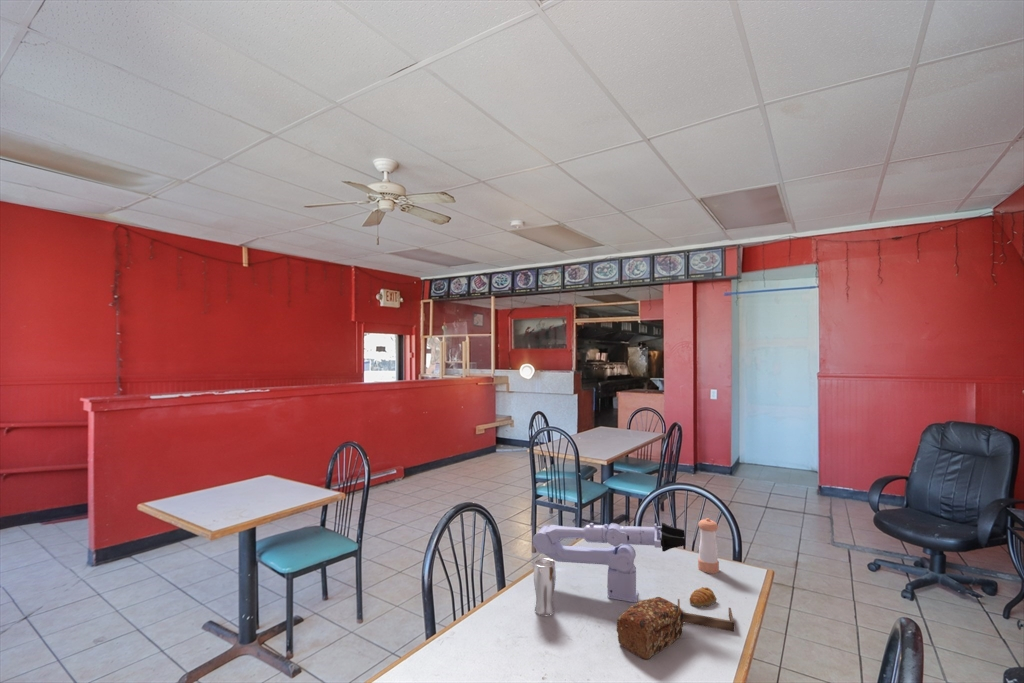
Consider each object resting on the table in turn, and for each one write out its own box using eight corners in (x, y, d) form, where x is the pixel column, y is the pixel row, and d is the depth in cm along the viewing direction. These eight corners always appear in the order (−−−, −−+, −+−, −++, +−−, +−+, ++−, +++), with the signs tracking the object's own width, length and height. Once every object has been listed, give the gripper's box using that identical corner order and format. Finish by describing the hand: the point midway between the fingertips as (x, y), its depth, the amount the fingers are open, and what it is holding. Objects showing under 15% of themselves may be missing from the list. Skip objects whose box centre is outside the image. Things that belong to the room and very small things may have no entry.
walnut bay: (677, 621, 141) (677, 612, 141) (677, 606, 150) (677, 598, 150) (734, 631, 136) (734, 622, 136) (730, 616, 144) (730, 607, 145)
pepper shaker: (715, 565, 181) (714, 515, 182) (721, 574, 173) (721, 522, 174) (695, 564, 181) (695, 514, 182) (701, 573, 174) (701, 521, 175)
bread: (647, 663, 121) (647, 624, 122) (614, 644, 130) (614, 607, 130) (685, 637, 133) (685, 601, 134) (653, 621, 141) (653, 587, 142)
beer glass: (558, 608, 148) (558, 560, 149) (551, 619, 142) (551, 568, 142) (538, 603, 151) (538, 556, 152) (529, 613, 145) (530, 564, 145)
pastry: (703, 611, 147) (703, 599, 147) (683, 603, 153) (683, 591, 153) (718, 602, 153) (717, 590, 153) (698, 594, 158) (698, 583, 159)
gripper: (639, 530, 149) (684, 532, 145) (642, 516, 163) (683, 518, 158) (641, 553, 149) (686, 555, 144) (644, 537, 162) (685, 539, 158)
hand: (684, 537), depth 151 cm, fingers open, 7 cm apart
